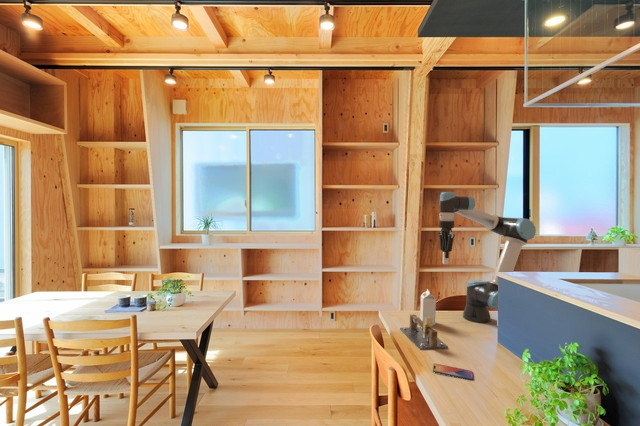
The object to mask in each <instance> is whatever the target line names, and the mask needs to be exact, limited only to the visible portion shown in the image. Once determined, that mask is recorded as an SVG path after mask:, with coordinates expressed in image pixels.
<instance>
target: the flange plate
mask: <svg viewBox="0 0 640 426" xmlns="http://www.w3.org/2000/svg"><path fill="white" fill-rule="evenodd" d="M399 330H400V331H401V332H402V334H404V335H405V337H407V338H408V339H409V340H410V341H411V342H412V343H413V344H414V345H415V346H416V347H417V348H418V349H419V350H439V349H441V350H442V349H448V348H449V346H448V345H447V344H446V343H444V342H443V340H441V339H440V338H439V337H437V347H431V346H430V345H429V341H427V334H426V338H424V337H423V328H422V327H421V326H417V331H416V329H411V328H410V326H408V327H406V326H405V327H400V328H399Z"/></svg>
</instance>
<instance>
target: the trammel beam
mask: <svg viewBox="0 0 640 426" xmlns="http://www.w3.org/2000/svg"><path fill="white" fill-rule="evenodd" d="M423 323H424V322H423V321H422V320H420V316H417V314H409V327H410V328H411V329H416V331H417V327H422V328H423ZM427 332H428V333H429V345H430V346H431V347H437V338H438V331H437V330H434V328H433V327H427Z"/></svg>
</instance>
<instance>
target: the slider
mask: <svg viewBox="0 0 640 426" xmlns="http://www.w3.org/2000/svg"><path fill="white" fill-rule="evenodd" d="M427 327H431V328H433V325H432V317H425V323H423V337H424V338H426V334H427V341H429V333H428V332H427Z"/></svg>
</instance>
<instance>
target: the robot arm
mask: <svg viewBox="0 0 640 426" xmlns="http://www.w3.org/2000/svg"><path fill="white" fill-rule="evenodd" d="M455 214H457V215H459V216H461V217H464V218H465V219H468V220H471V221H472V222H476V223H478V224H479V225H482V226H484V227H485V228H486V229H487V230H488V231H491V232H493V233H495V234H497V235H499V236H502V237H503V239H504V240H505V242H504V245H503V248H502V250H501V253H500V256H499V258H498V261H497V263H496V265H495V270H494V271H493V273H492V274H493V275H492V277H491V279H490V280H480V279H479V280H477V279H476V280H468V281H467V284H466V305H465V307H464V310H463V313H462V317H463V318H464V319H465V320H467V321H469V322H470V321H471V322H474V323H480V324H482V323H489V322H491V314H490V311H489V308H490V309H492V310H496V311H499V310H498V276H497V273H498V272H513V273H514V270H515V267H516V264H517V262H518V259H519V255H520V254H521V250H522V248H523V246H526V245H527V243H528V241H530V240H532V239H533V238H534V237H535V236H536V232H537V229H536V226H535V223H534V222H533V221H532V220H530V219H529V218H523V217H503V216H498V215H496V214H490V213H487V212H485V211H483V210H482V209H479V208H477V207H476V199H475V198H474V197H473V196H468V195H467V196H464V195H463V196H461V195H460V196H459V195H458V196H457V195H456V193H455V192H453V191H442V192H440V195H439V215H438V216H439V222H438V223H439V228H441V230H440V232H438V237H439V244H440V245H439V246H440V247H439V248H440V250H441V251H442V264H443V265H449V264H450V263H449V261H450V252H452V250H453V244H454V238H455V236H456V235H455V234H453V228H455Z"/></svg>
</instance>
